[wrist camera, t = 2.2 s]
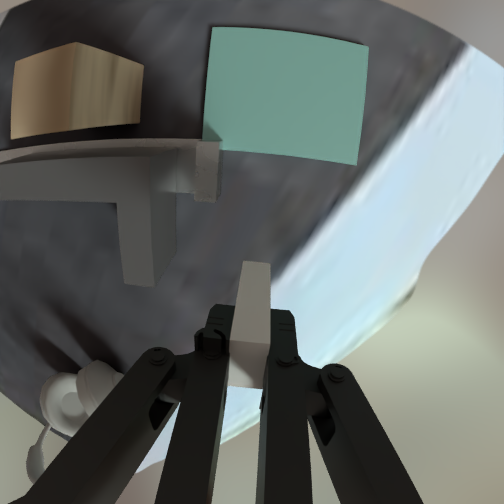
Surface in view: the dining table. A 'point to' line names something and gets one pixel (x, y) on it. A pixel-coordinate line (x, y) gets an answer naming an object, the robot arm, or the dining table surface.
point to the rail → (188, 150)
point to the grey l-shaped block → (110, 196)
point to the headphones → (70, 405)
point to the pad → (285, 93)
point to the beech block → (74, 91)
